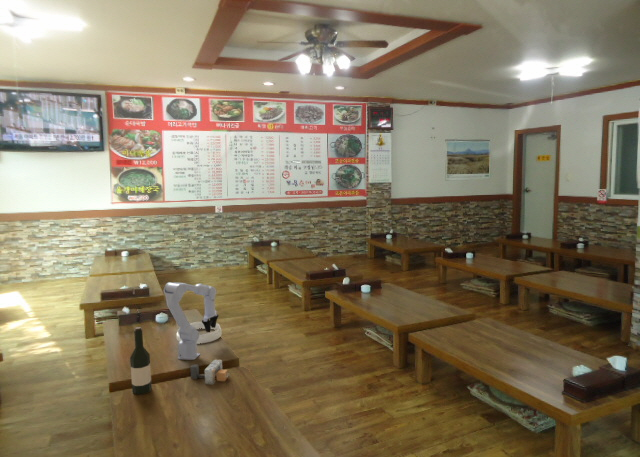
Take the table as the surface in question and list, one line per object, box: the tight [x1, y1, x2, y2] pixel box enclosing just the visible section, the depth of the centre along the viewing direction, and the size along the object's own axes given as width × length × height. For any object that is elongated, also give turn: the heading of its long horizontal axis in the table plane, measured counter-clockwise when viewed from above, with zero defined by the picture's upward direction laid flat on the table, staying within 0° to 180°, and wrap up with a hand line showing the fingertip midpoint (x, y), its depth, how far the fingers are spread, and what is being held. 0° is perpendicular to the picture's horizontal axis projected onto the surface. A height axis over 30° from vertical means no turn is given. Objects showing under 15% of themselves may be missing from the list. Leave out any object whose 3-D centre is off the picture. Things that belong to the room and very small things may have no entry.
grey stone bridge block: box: [204, 359, 223, 385], centre depth 219 cm, size 4×12×7 cm, turn 171°
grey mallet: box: [189, 364, 230, 382], centre depth 220 cm, size 19×4×6 cm, turn 81°
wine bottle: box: [129, 326, 153, 396], centre depth 207 cm, size 8×8×30 cm
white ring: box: [176, 321, 223, 345], centre depth 279 cm, size 27×27×6 cm
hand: (210, 329), depth 259 cm, fingers open, 7 cm apart
